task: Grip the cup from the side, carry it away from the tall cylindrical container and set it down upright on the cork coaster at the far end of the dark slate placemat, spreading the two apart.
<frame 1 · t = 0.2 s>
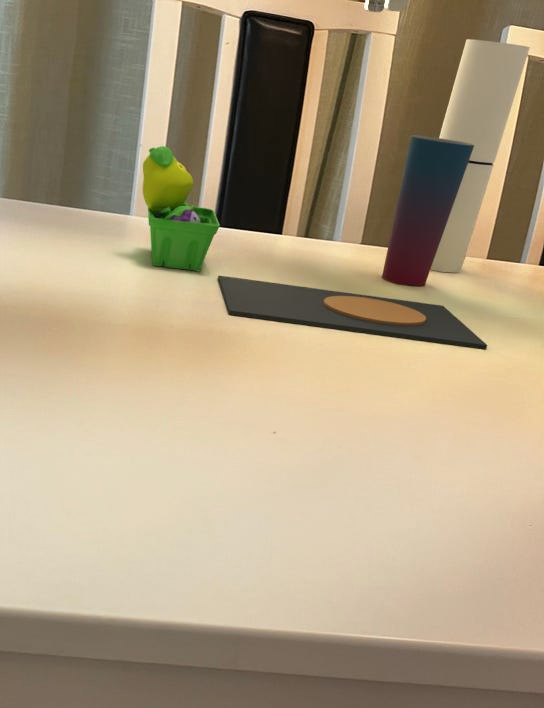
hand: (383, 11, 103), 26 cm above the table, tool pointing down, fingers open, 8 cm apart
cup: (402, 282, 118), on the table
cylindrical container: (432, 267, 130), on the table
placemat: (342, 311, 99), on the table
fruit basket: (169, 262, 112), on the table
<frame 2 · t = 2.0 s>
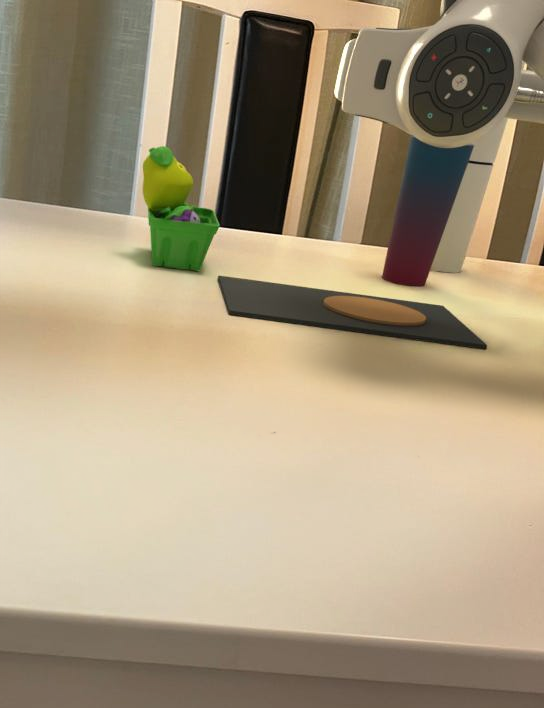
hand: (449, 86, 95), 20 cm above the table, tool horizontal, fingers open, 8 cm apart
nothing on the table moved.
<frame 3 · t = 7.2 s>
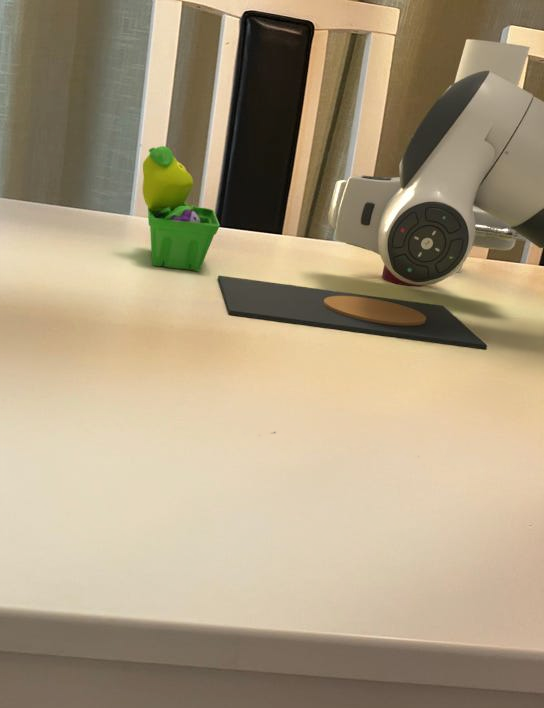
hand: (423, 207, 115), 8 cm above the table, tool horizontal, fingers closed on cup, 6 cm apart
cup: (402, 282, 118), on the table, touching gripper
everything else where it was.
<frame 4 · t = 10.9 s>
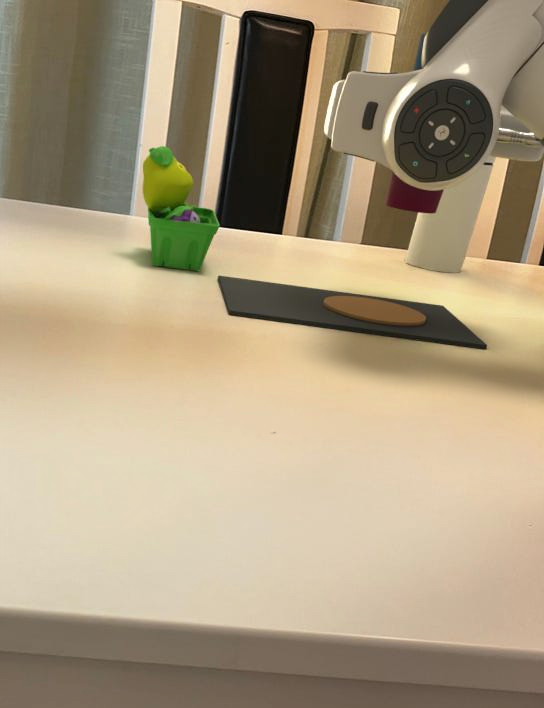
hand: (434, 121, 99), 17 cm above the table, tool horizontal, fingers closed on cup, 6 cm apart
cup: (409, 210, 102), point 9 cm above the table, touching gripper
everything else where it was.
when the fingers open (9 cm above the table, at t = 15.0 s): cup stays where it is, resting on placemat.
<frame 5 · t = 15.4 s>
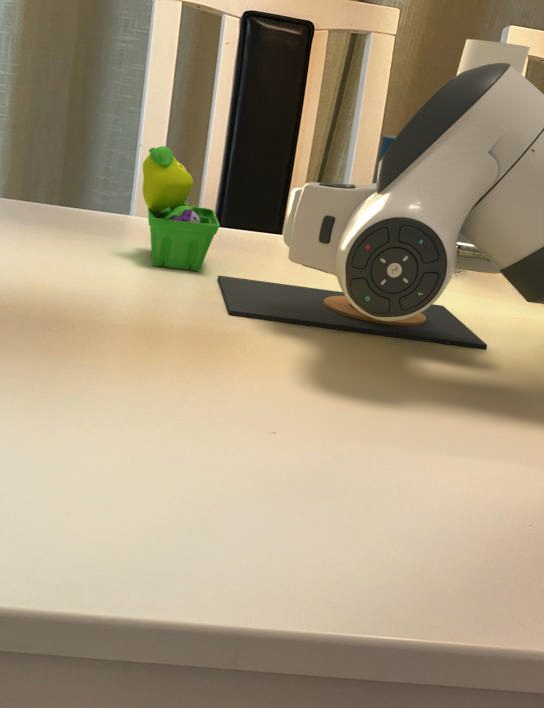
hand: (398, 219, 96), 9 cm above the table, tool horizontal, fingers open, 8 cm apart
cup: (374, 310, 99), point 1 cm above the table, touching placemat
everything else where it was.
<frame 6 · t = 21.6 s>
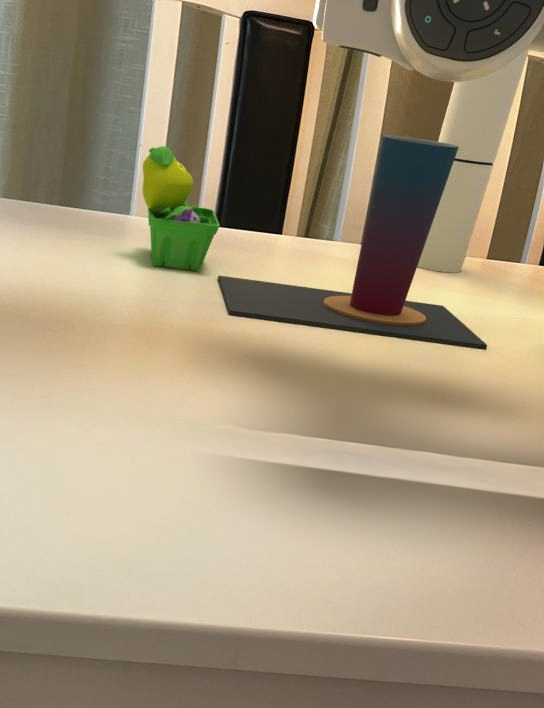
hand: (456, 15, 76), 25 cm above the table, tool horizontal, fingers open, 8 cm apart
nothing on the table moved.
at the end: cup inside the target area on the placemat (0.1 cm from its centre), point 0.5 cm above the placemat's base; cup tilted 0°; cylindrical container moved 0.2 cm from its start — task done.
